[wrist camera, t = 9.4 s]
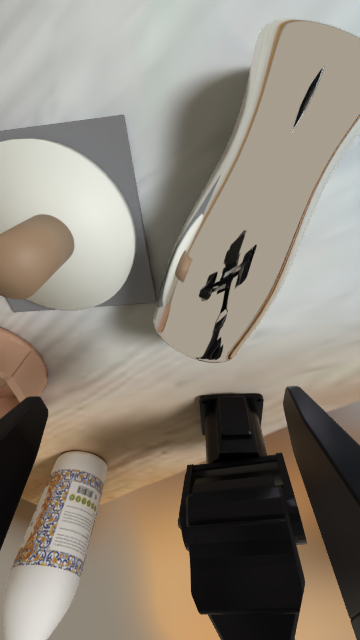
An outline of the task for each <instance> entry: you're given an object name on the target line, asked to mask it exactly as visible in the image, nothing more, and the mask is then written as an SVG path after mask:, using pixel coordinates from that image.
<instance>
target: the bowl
mask: <svg viewBox="0 0 360 640" xmlns="http://www.w3.org/2000/svg"><path fill="white" fill-rule="evenodd" d="M47 377H48V372H47V367H46V364H45V362H44V360H43V358H42V357H41V355H40V354H39V353H38V351H37V350H36V349H35V348H34V347H33V346H32V345H31V344H29V343H28V342H27V341H26V340H24V339H23V338H21V337H20V336H18V335H16V334H15V333H13V332H11V331H9V330H6V329H4V328H1V327H0V418H2V417H3V416H4V415H5V414H7V413H8V412H9V411H10V410H12V409H13V408H14V407H15V406H17V405H18V404H19V403H20V402H21V401H23V400H24V399H25V398H27V397H29V396H39V397H40V395H41V394H42V392H43V390H44V388H45V387H46V385H47V383H48V380H47Z"/></svg>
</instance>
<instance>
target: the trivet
mask: <svg viewBox="0 0 360 640" xmlns="http://www.w3.org/2000/svg"><path fill="white" fill-rule="evenodd" d="M32 138H37V139H45V140H51V141H54V142H58V143H61V144H64V145H66V146H69V147H71V148H73V149H75V150H77V151H79V152H80V153H82V154H84V155H86V156H87V157H88V158H90V159H91V160H92V161H94V162H95V163H96V164H97V165H98V166H100V167H101V168H102V169H103V170H104V171H105V172H106V173H107V174H108V175H109V177H110V178H111V179H112V180H113V181H114V182H115V184H116V185H117V187H118V188H119V190H120V191H121V193H122V194H123V196H124V198H125V200H126V202H127V204H128V206H129V209H130V211H131V214H132V217H133V220H134V224H135V230H136V254H135V259H134V262H133V266H132V268H131V270H130V273H129V275H128V277H127V279H126V281H125V283H124V284H123V286H122V287H121V288H120V290H119V291H118V292H117V293H116V294H115V295H114V296H112V297H111V298H110V299H109V300H107V301H105V302H103V303H102V304H99V305H97V306H94V307H99V306H114V305H129V304H143V303H156V295H155V289H154V283H153V278H152V272H151V266H150V260H149V255H148V249H147V243H146V237H145V232H144V226H143V220H142V214H141V209H140V203H139V197H138V192H137V186H136V180H135V174H134V169H133V163H132V157H131V151H130V146H129V140H128V134H127V128H126V123H125V117H124V115H118V116H110V117H103V118H95V119H87V120H80V121H72V122H65V123H57V124H49V125H42V126H34V127H27V128H19V129H11V130H4V131H0V142H2V141H7V140H12V139H32ZM7 300H8V302H9V304H10V306H11V308H12V310H13V312H25V311H40V310H55V309H54V308H49V307H45V306H42V305H39V304H36V303H34V302H32V301H29V300H27V299H20V300H16V299H10V298H7Z"/></svg>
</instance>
